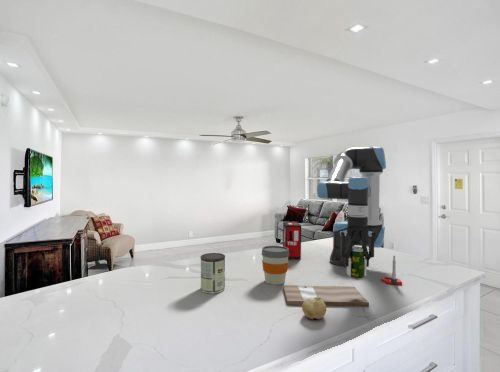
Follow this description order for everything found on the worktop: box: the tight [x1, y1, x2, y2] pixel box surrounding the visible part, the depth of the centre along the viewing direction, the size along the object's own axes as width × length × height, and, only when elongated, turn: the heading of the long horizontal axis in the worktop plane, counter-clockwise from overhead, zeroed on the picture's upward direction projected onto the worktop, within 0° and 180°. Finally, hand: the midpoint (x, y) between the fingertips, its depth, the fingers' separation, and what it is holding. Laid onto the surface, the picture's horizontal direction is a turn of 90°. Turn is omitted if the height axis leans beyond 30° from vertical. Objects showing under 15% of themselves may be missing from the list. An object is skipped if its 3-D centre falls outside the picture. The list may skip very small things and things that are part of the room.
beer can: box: [349, 245, 365, 281], centre depth 114 cm, size 5×5×12 cm
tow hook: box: [380, 255, 403, 286], centre depth 135 cm, size 8×13×9 cm
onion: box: [301, 294, 327, 321], centre depth 98 cm, size 8×8×7 cm
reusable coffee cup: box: [261, 245, 289, 286], centre depth 132 cm, size 13×12×15 cm
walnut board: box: [282, 284, 370, 307], centre depth 115 cm, size 16×30×2 cm, turn 89°
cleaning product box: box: [282, 220, 302, 261], centre depth 178 cm, size 16×9×20 cm, turn 179°
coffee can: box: [200, 252, 226, 294], centre depth 122 cm, size 10×10×14 cm
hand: (356, 274), depth 115 cm, fingers closed on beer can, 5 cm apart
